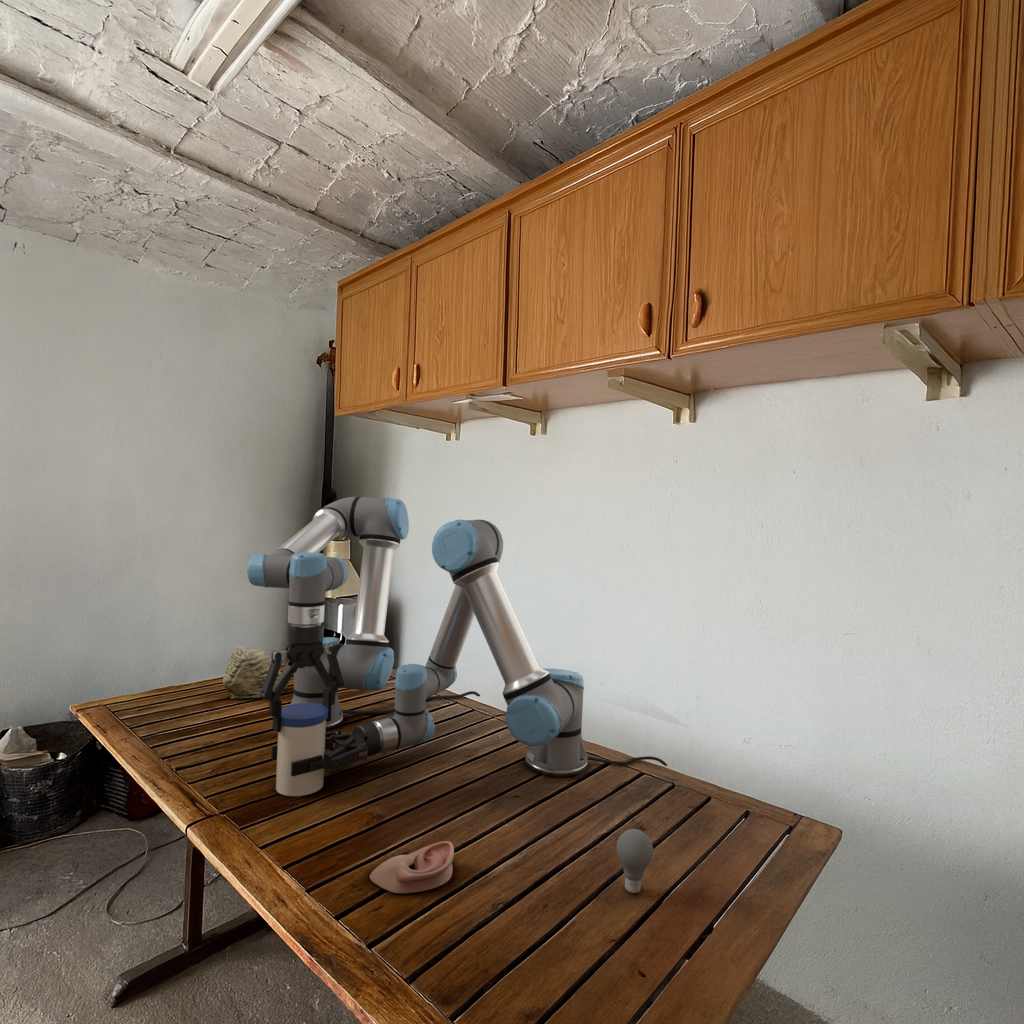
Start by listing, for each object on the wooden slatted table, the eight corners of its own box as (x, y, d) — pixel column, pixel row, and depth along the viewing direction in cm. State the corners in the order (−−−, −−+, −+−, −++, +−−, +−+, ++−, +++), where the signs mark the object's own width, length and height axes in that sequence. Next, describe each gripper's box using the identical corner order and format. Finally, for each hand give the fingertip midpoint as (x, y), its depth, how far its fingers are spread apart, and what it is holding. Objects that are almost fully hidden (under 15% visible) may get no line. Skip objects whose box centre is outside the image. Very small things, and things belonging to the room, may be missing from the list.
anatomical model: (362, 863, 103) (389, 828, 114) (361, 887, 103) (389, 850, 114) (440, 876, 100) (460, 839, 112) (439, 901, 101) (459, 861, 112)
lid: (334, 711, 143) (335, 704, 143) (316, 728, 132) (317, 720, 132) (289, 708, 144) (289, 701, 144) (267, 724, 133) (268, 717, 133)
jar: (311, 798, 133) (314, 723, 133) (266, 793, 134) (269, 719, 134) (330, 778, 143) (333, 708, 142) (289, 773, 144) (291, 704, 144)
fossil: (218, 695, 195) (220, 647, 195) (278, 685, 208) (279, 640, 207) (228, 703, 189) (230, 653, 188) (289, 692, 201) (290, 645, 201)
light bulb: (610, 879, 108) (613, 822, 108) (644, 879, 109) (647, 822, 109) (619, 902, 102) (622, 840, 102) (655, 901, 103) (658, 840, 103)
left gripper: (258, 632, 127) (254, 741, 128) (362, 622, 143) (358, 719, 143) (245, 626, 133) (241, 730, 133) (346, 616, 148) (343, 710, 149)
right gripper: (398, 770, 142) (303, 798, 127) (350, 739, 159) (261, 760, 144) (400, 737, 142) (304, 761, 127) (352, 709, 159) (262, 727, 144)
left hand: (302, 724), depth 138 cm, fingers closed on lid, 10 cm apart
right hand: (281, 761), depth 135 cm, fingers closed on jar, 10 cm apart
